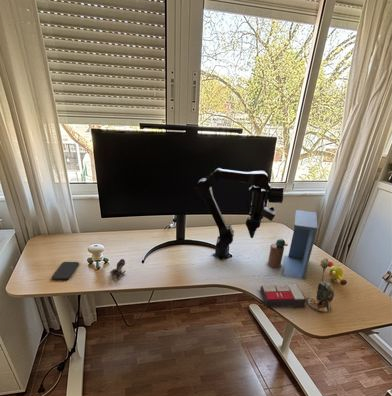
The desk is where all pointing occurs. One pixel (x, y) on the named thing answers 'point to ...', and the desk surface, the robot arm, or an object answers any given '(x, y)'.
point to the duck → (276, 253)
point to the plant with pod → (322, 293)
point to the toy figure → (336, 273)
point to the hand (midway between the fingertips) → (253, 234)
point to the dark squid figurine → (119, 269)
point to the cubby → (301, 244)
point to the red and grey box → (282, 295)
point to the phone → (65, 271)
